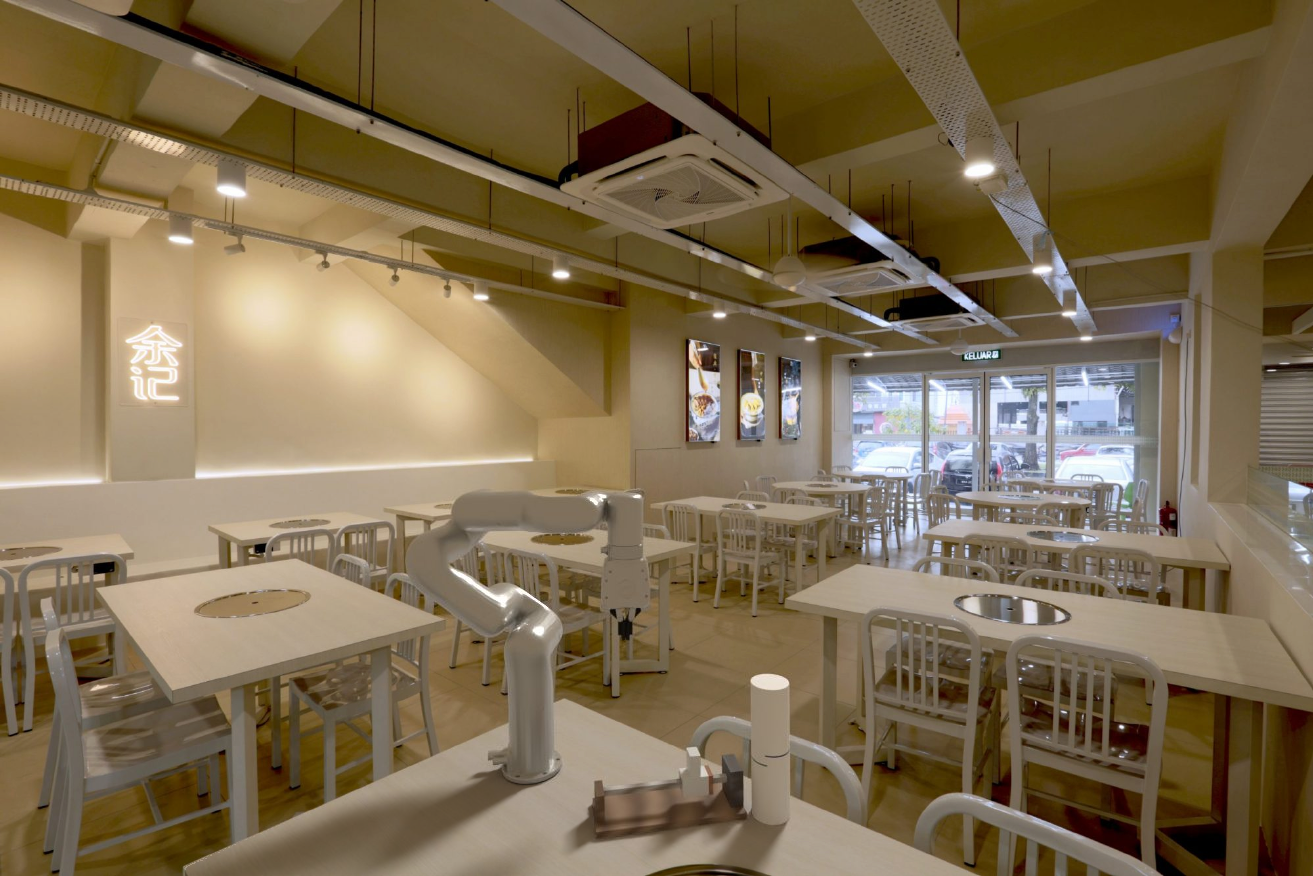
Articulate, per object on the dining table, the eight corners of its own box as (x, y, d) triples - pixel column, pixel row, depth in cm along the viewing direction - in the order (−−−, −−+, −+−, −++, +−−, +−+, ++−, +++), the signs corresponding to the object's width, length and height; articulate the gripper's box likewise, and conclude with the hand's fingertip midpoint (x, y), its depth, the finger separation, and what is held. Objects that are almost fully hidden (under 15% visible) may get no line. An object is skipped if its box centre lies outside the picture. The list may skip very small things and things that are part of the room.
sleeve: (683, 798, 113) (682, 758, 113) (679, 786, 117) (678, 748, 117) (708, 794, 114) (708, 755, 114) (704, 783, 118) (703, 745, 117)
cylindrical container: (790, 827, 110) (789, 691, 109) (750, 822, 111) (749, 688, 111) (789, 803, 117) (788, 675, 116) (752, 799, 118) (751, 672, 118)
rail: (596, 838, 107) (595, 794, 107) (592, 804, 117) (591, 763, 117) (747, 819, 112) (746, 776, 112) (731, 787, 122) (731, 748, 122)
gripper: (590, 556, 122) (590, 646, 122) (663, 554, 124) (662, 643, 124) (589, 549, 129) (589, 633, 130) (658, 547, 131) (657, 630, 132)
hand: (625, 638), depth 127 cm, fingers closed
